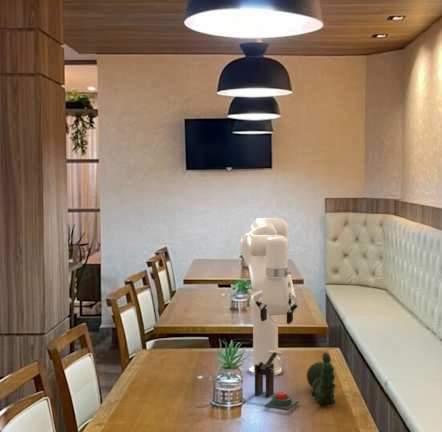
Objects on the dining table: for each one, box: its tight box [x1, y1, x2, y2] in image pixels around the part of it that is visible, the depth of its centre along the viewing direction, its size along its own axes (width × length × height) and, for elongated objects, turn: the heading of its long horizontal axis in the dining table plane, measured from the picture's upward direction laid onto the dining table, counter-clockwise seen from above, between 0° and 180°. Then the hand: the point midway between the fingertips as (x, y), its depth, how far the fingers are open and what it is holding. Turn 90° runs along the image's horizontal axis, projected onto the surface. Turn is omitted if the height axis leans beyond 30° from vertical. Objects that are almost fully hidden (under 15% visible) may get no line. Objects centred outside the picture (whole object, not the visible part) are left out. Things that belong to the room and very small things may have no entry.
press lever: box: [259, 350, 284, 376], centre depth 227 cm, size 12×5×2 cm, turn 154°
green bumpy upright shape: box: [306, 352, 336, 406], centre depth 223 cm, size 9×19×25 cm
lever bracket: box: [254, 362, 275, 399], centre depth 223 cm, size 12×9×12 cm
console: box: [264, 394, 299, 411], centre depth 214 cm, size 9×8×4 cm
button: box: [276, 391, 288, 400], centre depth 214 cm, size 3×3×2 cm
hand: (276, 321), depth 231 cm, fingers open, 9 cm apart
